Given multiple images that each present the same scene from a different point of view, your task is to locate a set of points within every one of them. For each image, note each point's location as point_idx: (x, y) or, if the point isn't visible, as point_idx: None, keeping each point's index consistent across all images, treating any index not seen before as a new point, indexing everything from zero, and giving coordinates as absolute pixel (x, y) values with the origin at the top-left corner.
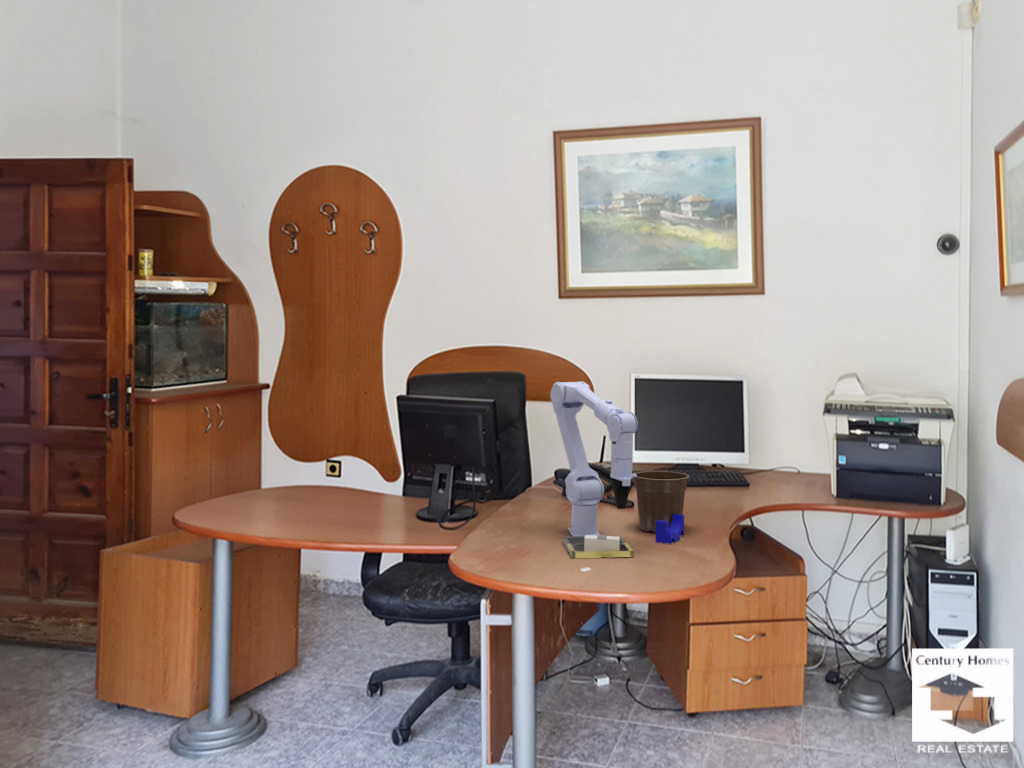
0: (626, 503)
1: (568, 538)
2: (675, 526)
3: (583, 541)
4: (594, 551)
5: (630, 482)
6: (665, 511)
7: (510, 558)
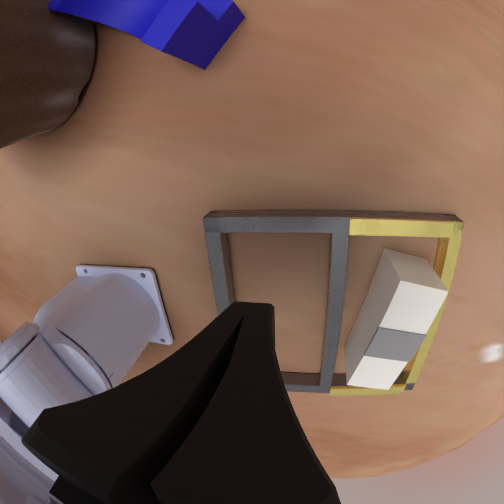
0: (269, 323)
1: None
2: (102, 2)
3: None
4: (422, 343)
5: (121, 494)
6: (40, 33)
7: (366, 447)
